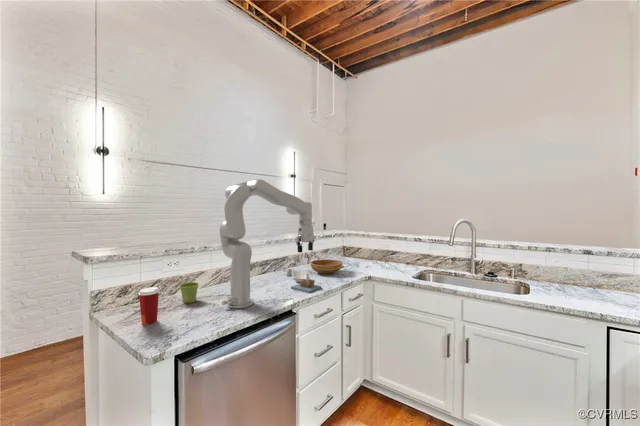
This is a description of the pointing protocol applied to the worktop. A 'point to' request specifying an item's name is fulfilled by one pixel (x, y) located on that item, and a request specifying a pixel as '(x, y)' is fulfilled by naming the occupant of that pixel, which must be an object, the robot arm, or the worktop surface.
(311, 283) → the collar
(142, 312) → the paper cup
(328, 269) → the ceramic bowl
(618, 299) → the worktop surface
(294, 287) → the post board
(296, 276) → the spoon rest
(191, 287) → the plant pot
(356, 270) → the worktop surface
